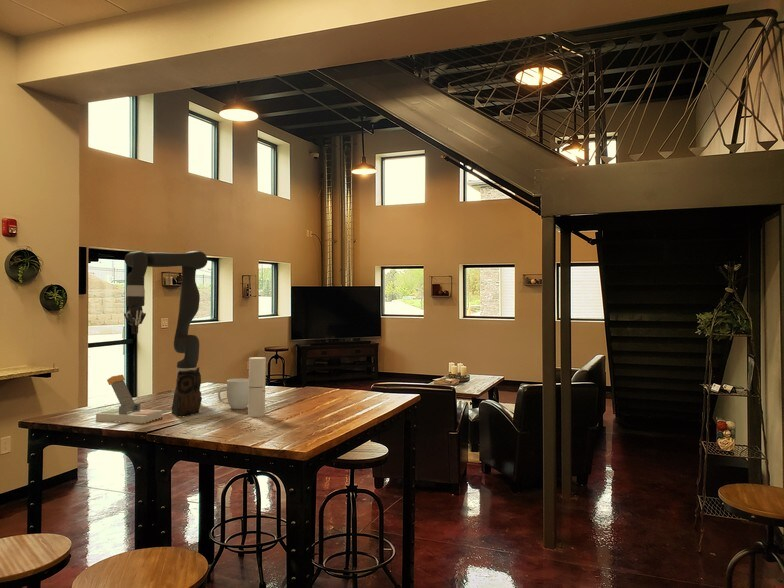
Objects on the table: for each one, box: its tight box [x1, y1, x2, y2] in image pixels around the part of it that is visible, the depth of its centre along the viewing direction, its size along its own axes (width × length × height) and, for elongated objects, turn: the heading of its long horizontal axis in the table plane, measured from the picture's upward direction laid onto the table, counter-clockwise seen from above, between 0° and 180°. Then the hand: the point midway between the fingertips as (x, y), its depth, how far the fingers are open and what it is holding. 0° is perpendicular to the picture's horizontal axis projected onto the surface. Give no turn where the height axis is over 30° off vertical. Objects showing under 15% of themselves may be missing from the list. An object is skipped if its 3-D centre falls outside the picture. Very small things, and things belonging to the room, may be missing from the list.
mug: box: [217, 378, 249, 410], centre depth 255 cm, size 15×11×13 cm
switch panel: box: [95, 402, 163, 424], centre depth 227 cm, size 22×12×6 cm, turn 80°
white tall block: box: [247, 356, 267, 418], centre depth 239 cm, size 7×7×25 cm
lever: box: [106, 374, 137, 412], centre depth 228 cm, size 3×6×16 cm, turn 170°
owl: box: [171, 366, 203, 418], centre depth 240 cm, size 13×13×20 cm
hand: (134, 333), depth 247 cm, fingers closed
